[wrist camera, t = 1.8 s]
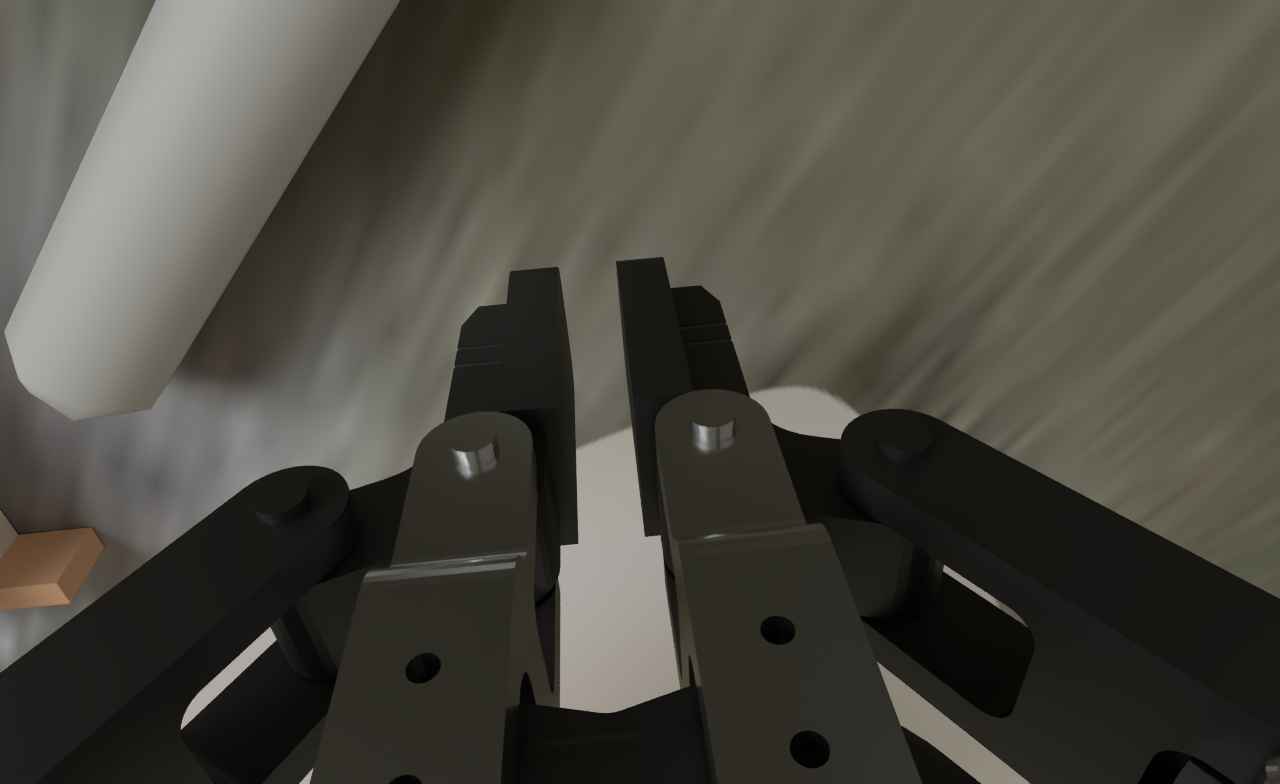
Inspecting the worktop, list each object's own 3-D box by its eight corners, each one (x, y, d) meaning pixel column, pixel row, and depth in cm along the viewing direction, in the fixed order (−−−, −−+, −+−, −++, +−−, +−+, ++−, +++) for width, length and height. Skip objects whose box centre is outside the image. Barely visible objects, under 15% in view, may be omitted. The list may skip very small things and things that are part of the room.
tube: (157, 466, 28) (616, -253, 17) (-40, 429, 24) (387, -500, 14) (164, 357, 31) (553, -301, 21) (-8, 311, 28) (356, -510, 17)
